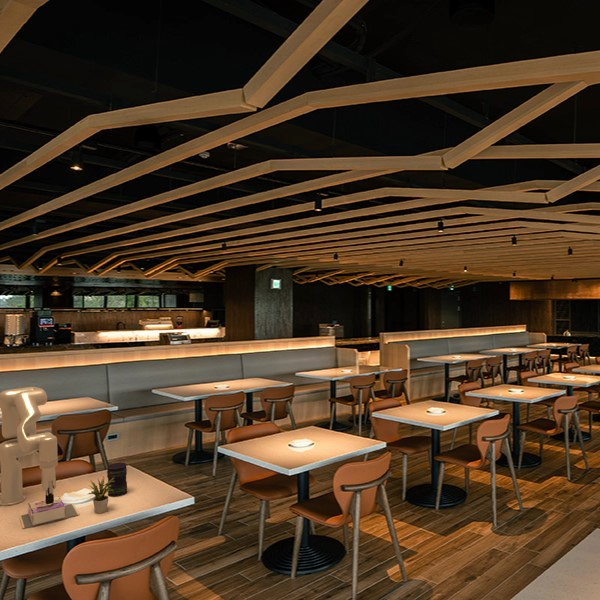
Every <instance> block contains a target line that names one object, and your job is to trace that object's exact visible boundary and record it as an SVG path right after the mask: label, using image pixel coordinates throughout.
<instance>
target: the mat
mask: <svg viewBox="0 0 600 600" xmlns="http://www.w3.org/2000/svg"><path fill="white" fill-rule="evenodd" d="M64 505H65V518H61V519H57V520H53V521H49V522H45V523H41V524H37V525H32V522H31V520H30V517H29V515H28V513H26V514H23V515H22V514H20V515H18V518H19V522H20V525H21V528H22V530H25V529H30V528H33V527H39V526H42V525H46V524H50V523H53V522H58V521H62V520H66V519H71V518H75V517H79V516H80V512H79V511H78V509H77V506H76V505H75V503H74V502H73V503H69V504H64Z"/></svg>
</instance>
